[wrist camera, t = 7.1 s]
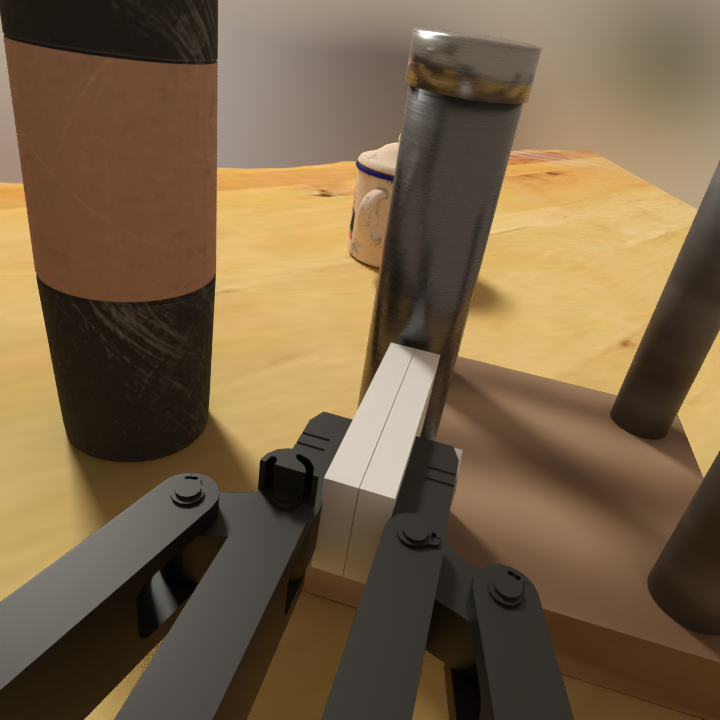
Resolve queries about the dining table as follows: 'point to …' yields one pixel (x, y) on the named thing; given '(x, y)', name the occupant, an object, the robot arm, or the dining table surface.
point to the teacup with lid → (372, 203)
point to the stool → (601, 498)
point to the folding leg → (445, 194)
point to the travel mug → (121, 210)
